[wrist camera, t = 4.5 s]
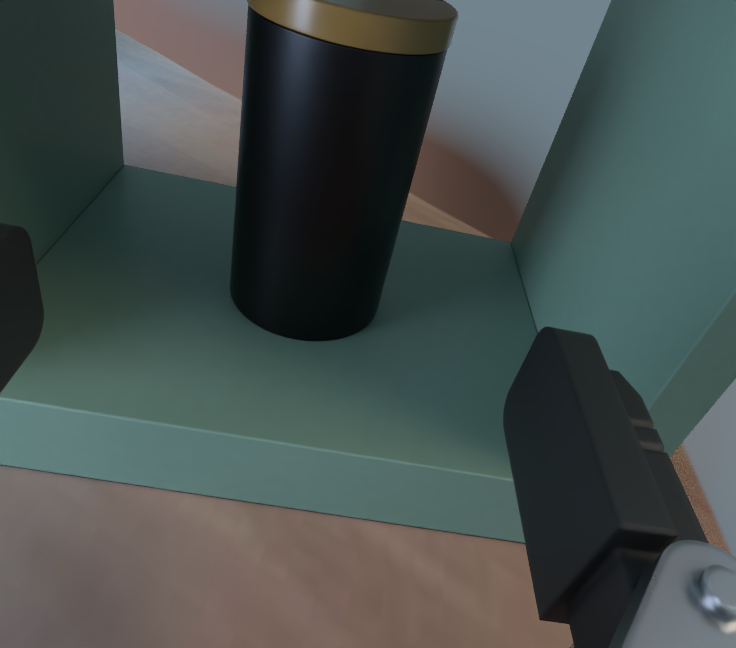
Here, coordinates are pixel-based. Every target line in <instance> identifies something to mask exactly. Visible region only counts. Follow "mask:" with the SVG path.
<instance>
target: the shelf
mask: <svg viewBox="0 0 736 648" xmlns="http://www.w3.org/2000/svg"><path fill="white" fill-rule="evenodd" d="M235 201H236V187H233V186H228V185H223V184H218V183H213V182H208V181H203V180H198V179H193V178H188V177H183V176H178V175H173V174H168V173H163V172H158V171H153V170H148V169H143V168H138V167H133V166H128V165H124V161H123V145H122V130H121V114H120V99H119V83H118V68H117V52H116V37H115V22H114V5H113V0H0V223H5V224H10V225H15V226H21V227H23V228H24V229H25V230H26V231H27V232H28V234H29V236H30V239H31V243H32V249H33V254H34V259H35V265H36V270H37V275H38V281H39V286H40V291H41V297H42V302H43V308H44V321H43V327H42V331H41V334H40V337H39V339H38V342H37V344H36V346H35V347H34V349H33V350H32V351H31V353H30V354H29V355H28V357H27V358H26V359H25V361H24V362H23V363H22V365H21V366H20V367H19V369H18V370H17V371H16V373H15V374H14V375H13V377H12V378H11V380H10V381H9V382H8V384H7V385H6V386H5V388H4V389H3V390H2V392H1V393H0V465H7V466H14V467H20V468H27V469H34V470H41V471H47V472H54V473H61V474H67V475H74V476H81V477H87V478H94V479H101V480H107V481H114V482H121V483H127V484H134V485H141V486H147V487H154V488H161V489H167V490H174V491H181V492H188V493H194V494H201V495H208V496H214V497H221V498H228V499H234V500H241V501H248V502H254V503H261V504H268V505H274V506H281V507H288V508H294V509H301V510H308V511H315V512H321V513H328V514H335V515H341V516H348V517H355V518H361V519H368V520H375V521H381V522H388V523H395V524H401V525H408V526H415V527H421V528H428V529H435V530H441V531H448V532H455V533H462V534H468V535H475V536H482V537H488V538H495V539H502V540H508V541H515V542H522V543H525V539H524V534H523V529H522V523H521V518H520V513H519V507H518V502H517V497H516V492H515V486H514V481H513V476H512V470H511V465H510V460H509V455H508V449H507V444H506V439H505V433H504V427H503V412H504V405H505V401H506V397H507V394H508V392H509V390H510V387H511V385H512V383H513V381H514V379H515V377H516V375H517V373H518V372H519V370H520V368H521V366H522V364H523V362H524V360H525V358H526V356H527V354H528V352H529V350H530V348H531V346H532V344H533V342H534V340H535V338H536V336H537V334H538V333H539V331H540V330H541V329H542V328H544V327H546V326H548V327H553V328H559V329H564V330H569V331H575V332H580V333H585V334H591V335H593V336H594V337H595V338H596V340H597V342H598V344H599V346H600V349H601V351H602V354H603V356H604V358H605V361H606V363H607V366H608V368H609V370H615V371H619V372H620V373H621V374H622V376H623V377H624V378H625V379H626V380H627V381H628V382H629V383H630V385H631V386H632V387H633V388H634V389H635V390H636V391H637V392H638V393H639V395H640V396H641V397H642V399H643V401H644V403H645V406H646V408H647V410H648V412H649V414H650V416H651V419H652V421H653V423H654V425H653V429H656V430H657V432H658V434H659V436H660V438H661V440H662V443H663V445H664V453H667V454H668V456H669V457H670V456H671V455H672V454H673V452H674V451H675V450H676V449H677V448H678V446H679V445H680V444H681V443H682V442H683V441H684V439H685V438H686V437H687V436H688V435H689V433H690V432H691V431H692V430H693V428H694V427H695V426H696V425H697V424H698V423H699V421H700V420H701V419H702V418H703V417H704V415H705V414H706V413H707V412H708V411H709V409H710V408H711V407H712V406H713V405H714V404H715V402H716V401H717V399H719V398H720V396H721V395H722V394H723V392H725V390H726V389H727V388H728V387H729V386H730V384H731V383H732V382H733V381H734V380H735V378H736V0H611V3H610V5H609V8H608V10H607V13H606V15H605V17H604V20H603V22H602V24H601V27H600V29H599V32H598V34H597V37H596V39H595V41H594V44H593V46H592V49H591V51H590V54H589V56H588V58H587V61H586V63H585V66H584V68H583V70H582V73H581V75H580V78H579V80H578V83H577V85H576V88H575V90H574V92H573V94H572V97H571V100H570V102H569V104H568V107H567V109H566V111H565V114H564V116H563V119H562V121H561V124H560V126H559V128H558V131H557V133H556V135H555V138H554V140H553V143H552V145H551V148H550V150H549V153H548V155H547V157H546V160H545V162H544V164H543V167H542V169H541V172H540V174H539V177H538V179H537V182H536V184H535V186H534V189H533V191H532V193H531V196H530V198H529V201H528V203H527V206H526V208H525V210H524V213H523V215H522V218H521V220H520V222H519V225H518V227H517V230H516V232H515V234H514V237H513V239H512V242H511V243H510V242H506V241H501V240H496V239H491V238H486V237H481V236H476V235H471V234H466V233H461V232H456V231H452V230H447V229H442V228H437V227H432V226H427V225H422V224H417V223H412V222H407V221H402V220H401V223H400V227H399V231H398V234H397V238H396V242H395V246H394V249H393V253H392V257H391V260H390V264H389V268H388V272H387V275H386V279H385V283H384V286H383V290H382V294H381V298H380V301H379V305H378V309H377V312H376V314H375V317H374V318H373V320H372V321H371V322H370V323H369V324H368V325H367V326H366V327H365V328H364V329H362V330H361V331H359V332H357V333H356V334H354V335H351V336H348V337H346V338H342V339H338V340H331V341H318V342H316V341H302V340H295V339H290V338H286V337H283V336H279V335H276V334H274V333H271V332H269V331H266V330H264V329H263V328H261V327H259V326H257V325H255V324H254V323H253V322H251V321H250V320H248V319H247V318H246V317H245V316H244V315H243V314H242V313H241V312H240V311H239V310H238V308H237V307H236V305H235V304H234V302H233V299H232V297H231V293H230V277H231V261H232V246H233V231H234V216H235Z"/></svg>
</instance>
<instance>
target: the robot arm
mask: <svg viewBox="0 0 736 648" xmlns="http://www.w3.org/2000/svg"><path fill="white" fill-rule="evenodd" d="M43 321H44V308H43V302H42V297H41V291H40V286H39V281H38V275H37V270H36V265H35V259H34V254H33V249H32V243H31V239H30V236H29V234H28V232H27V231H26V230H25V229H24V228H23V227H21V226H15V225H10V224H5V223H0V393H1V392H2V390H3V389H4V388H5V386H6V385H7V384H8V382H9V381H10V380H11V378H12V377H13V375H14V374H15V373H16V371H17V370H18V369H19V367H20V366H21V365H22V363H23V362H24V361H25V359H26V358H27V357H28V355H29V354H30V353H31V351H32V350H33V349H34V347H35V346H36V344H37V342H38V339H39V337H40V334H41V331H42V327H43ZM653 425H654V423H653V421H652V419H651V416H650V414H649V412H648V410H647V408H646V406H645V403H644V401H643V399H642V397H641V396H640V395H639V393H638V392H637V391H636V390H635V389H634V388H633V387H632V386H631V385H630V383H629V382H628V381H627V380H626V379H625V378H624V377H623V376H622V374H621V373H620V372H619V371H615V370H609V368H608V366H607V363H606V361H605V358H604V356H603V354H602V351H601V349H600V346H599V344H598V342H597V340H596V338H595V337H594V336H593V335H591V334H585V333H580V332H575V331H569V330H564V329H559V328H553V327H548V326H546V327H544V328H542V329H541V330H540V331H539V333H538V334H537V336H536V338H535V340H534V342H533V344H532V346H531V348H530V350H529V352H528V354H527V356H526V358H525V360H524V362H523V364H522V366H521V368H520V370H519V372H518V373H517V375H516V377H515V379H514V381H513V383H512V385H511V387H510V390H509V392H508V394H507V397H506V401H505V405H504V412H503V427H504V433H505V439H506V444H507V449H508V455H509V460H510V465H511V470H512V476H513V481H514V486H515V492H516V497H517V502H518V507H519V513H520V518H521V523H522V529H523V534H524V539H525V544H526V550H527V555H528V560H529V566H530V571H531V576H532V581H533V587H534V592H535V597H536V603H537V608H538V613H539V619H540V620H543V621H551V622H558V623H565V624H570V629H571V633H572V638H573V642H574V643H573V644H572V645H571V646H570V647H569V648H736V558H735V557H734V556H732V555H731V554H729V553H727V552H726V551H724V550H722V549H720V548H718V547H716V546H714V545H711V544H709V543H708V541H707V539H706V537H705V534H704V532H703V530H702V528H701V526H700V523H699V521H698V519H697V517H696V515H695V513H694V510H693V508H692V506H691V504H690V502H689V499H688V497H687V495H686V493H685V491H684V489H683V486H682V484H681V482H680V480H679V478H678V475H677V473H676V471H675V469H674V467H673V464H672V462H671V460H670V458H669V456H668V454H667V453H664V445H663V443H662V440H661V438H660V436H659V434H658V432H657V430H656V429H653Z"/></svg>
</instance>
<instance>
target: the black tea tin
mask: <svg viewBox="0 0 736 648" xmlns="http://www.w3.org/2000/svg"><path fill="white" fill-rule="evenodd" d="M247 1H248V19H247V34H246V50H245V65H244V80H243V95H242V110H241V125H240V140H239V155H238V170H237V186H236V201H235V216H234V231H233V246H232V261H231V277H230V293H231V297H232V299H233V302H234V304H235V305H236V307H237V308H238V310H239V311H240V312H241V313H242V314H243V315H244V316H245V317H246V318H247V319H248V320H250V321H251V322H253V323H254V324H255V325H257V326H259V327H261V328H263V329H264V330H266V331H269V332H271V333H274V334H276V335H279V336H283V337H286V338H290V339H295V340H302V341H316V342H318V341H331V340H338V339H342V338H346V337H348V336H351V335H354V334H356V333H357V332H359V331H361V330H362V329H364V328H365V327H366V326H367V325H368V324H369V323H370V322H371V321H372V320H373V318H374V317H375V314H376V312H377V309H378V305H379V301H380V298H381V294H382V290H383V286H384V283H385V279H386V275H387V272H388V268H389V264H390V260H391V257H392V253H393V249H394V246H395V242H396V238H397V234H398V231H399V227H400V223H401V220H402V216H403V212H404V208H405V205H406V201H407V197H408V194H409V190H410V186H411V182H412V179H413V175H414V171H415V168H416V164H417V160H418V156H419V153H420V149H421V145H422V141H423V137H424V134H425V130H426V127H427V122H428V119H429V116H430V112H431V108H432V105H433V101H434V97H435V93H436V90H437V86H438V82H439V78H440V75H441V71H442V67H443V63H444V60H445V56H446V52H447V49H448V48H449V46H450V44H451V41H452V37H453V34H454V30H455V26H456V22H457V19H458V12H457V11H456V9H455V8H454V7H453V6H451V5H450V4H449V3H447V2H446V1H444V0H247Z"/></svg>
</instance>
